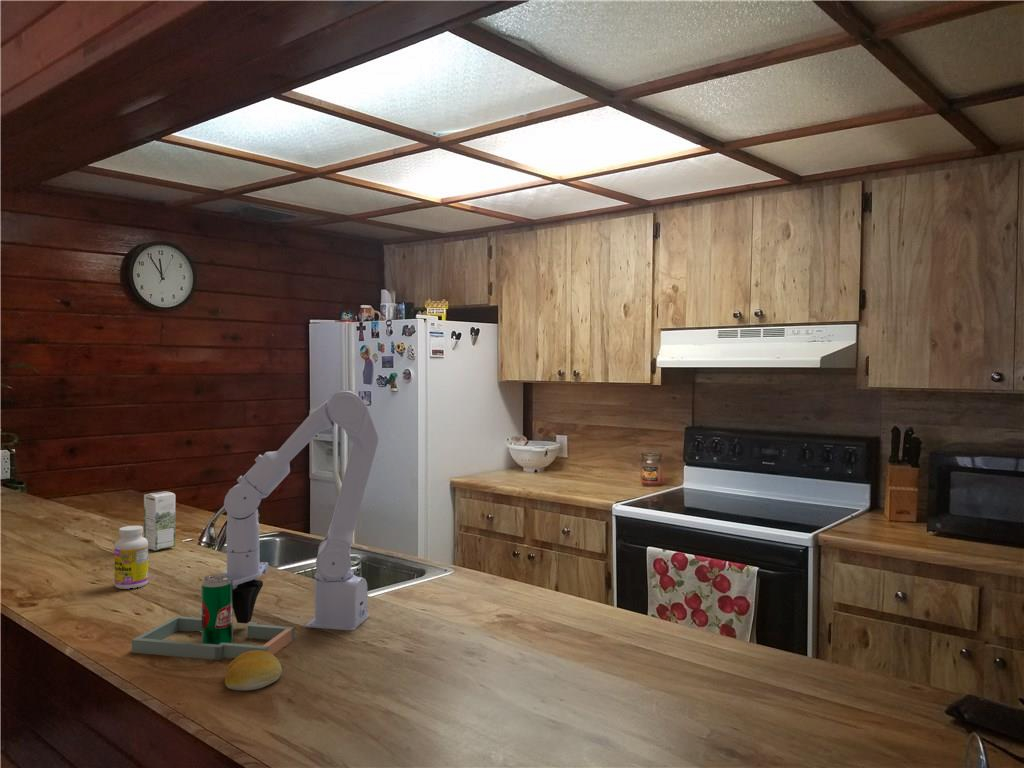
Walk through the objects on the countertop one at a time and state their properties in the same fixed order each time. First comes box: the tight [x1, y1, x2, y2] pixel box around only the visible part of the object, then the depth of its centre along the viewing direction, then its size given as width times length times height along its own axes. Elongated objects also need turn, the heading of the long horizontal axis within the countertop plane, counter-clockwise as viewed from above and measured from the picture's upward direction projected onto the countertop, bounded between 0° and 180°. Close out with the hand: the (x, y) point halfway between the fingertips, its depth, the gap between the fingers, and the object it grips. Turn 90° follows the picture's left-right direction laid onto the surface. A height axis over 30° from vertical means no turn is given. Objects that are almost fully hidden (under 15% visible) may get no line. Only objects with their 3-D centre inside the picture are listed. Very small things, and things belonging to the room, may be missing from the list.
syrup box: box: [143, 490, 177, 551], centre depth 197 cm, size 6×6×14 cm
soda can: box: [200, 573, 234, 645], centre depth 129 cm, size 5×5×12 cm
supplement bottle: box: [113, 525, 149, 590], centre depth 164 cm, size 7×7×13 cm
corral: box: [131, 615, 295, 661], centre depth 129 cm, size 24×12×2 cm, turn 79°
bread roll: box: [224, 650, 283, 692], centre depth 114 cm, size 8×9×4 cm
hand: (243, 621), depth 137 cm, fingers closed
